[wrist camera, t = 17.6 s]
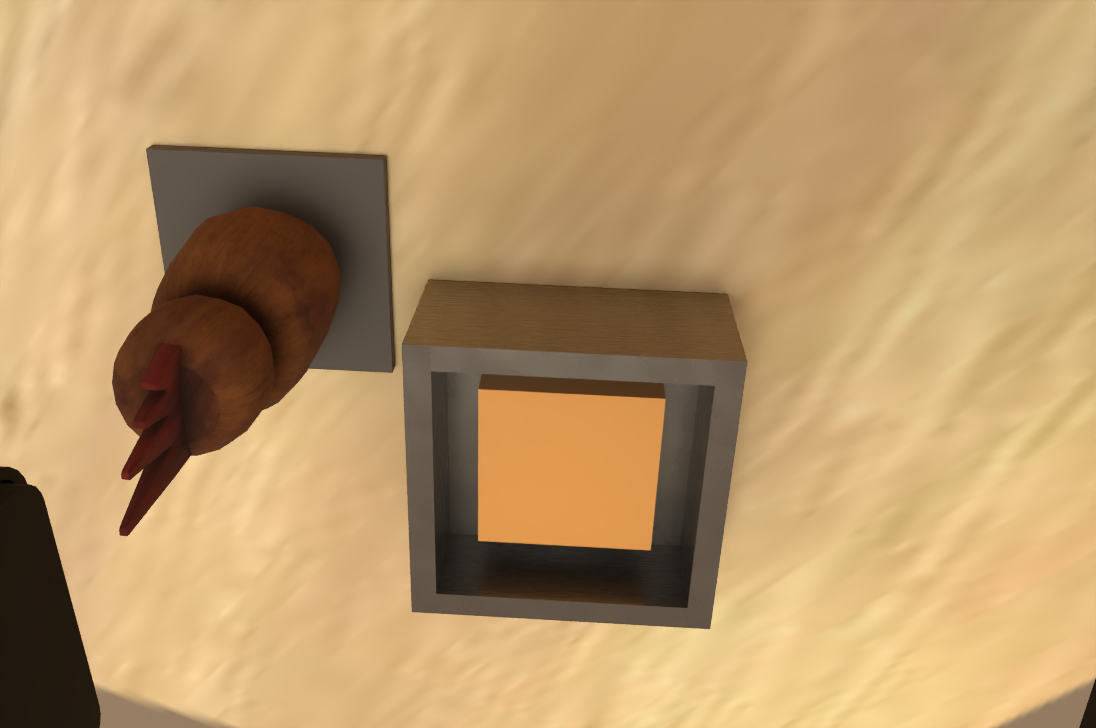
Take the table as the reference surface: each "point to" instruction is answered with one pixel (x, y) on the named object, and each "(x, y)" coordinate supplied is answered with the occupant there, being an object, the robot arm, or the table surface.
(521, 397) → the button
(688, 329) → the box
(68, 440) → the table surface
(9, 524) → the robot arm
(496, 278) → the table surface
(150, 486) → the wooden figurine
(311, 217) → the mat
